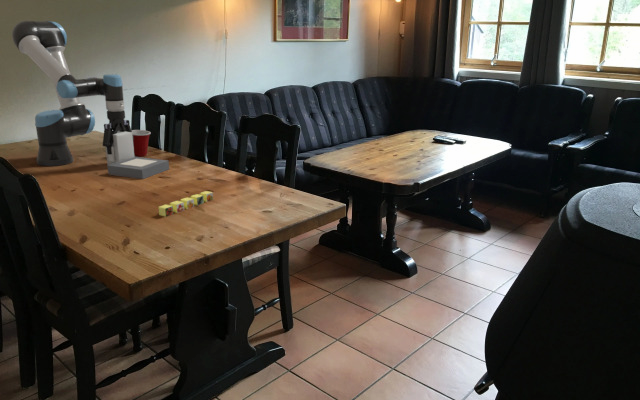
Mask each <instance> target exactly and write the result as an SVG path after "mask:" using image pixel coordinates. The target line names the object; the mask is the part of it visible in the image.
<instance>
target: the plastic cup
mask: <svg viewBox="0 0 640 400" xmlns="http://www.w3.org/2000/svg"><path fill="white" fill-rule="evenodd" d="M131 131H132V134H133V137H134V140H133V147H134V157H142V158H143V157H147V156H148V155H147V154H148V148H149V139H150V136H151V134H152V133H151V131H148V130H144V129H143V130H141V129H133V130H132V129H131Z"/></svg>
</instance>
